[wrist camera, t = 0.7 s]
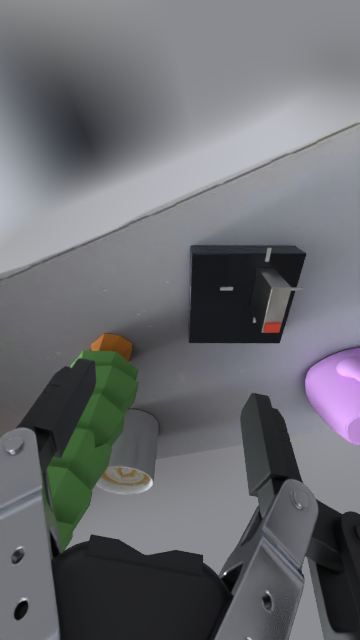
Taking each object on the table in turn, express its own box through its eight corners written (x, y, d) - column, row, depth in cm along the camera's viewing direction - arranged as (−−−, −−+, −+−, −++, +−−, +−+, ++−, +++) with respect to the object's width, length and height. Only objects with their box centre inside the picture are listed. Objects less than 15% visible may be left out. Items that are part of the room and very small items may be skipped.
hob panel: (190, 240, 27) (191, 248, 24) (302, 239, 26) (315, 248, 24) (188, 329, 33) (189, 344, 31) (276, 330, 33) (284, 344, 31)
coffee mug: (140, 403, 43) (130, 461, 34) (167, 430, 47) (164, 487, 39) (83, 422, 46) (62, 479, 38) (114, 446, 51) (100, 501, 43)
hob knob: (257, 267, 25) (272, 289, 21) (273, 267, 25) (293, 289, 21) (249, 307, 28) (262, 334, 23) (264, 307, 28) (280, 334, 23)
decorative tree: (105, 313, 32) (-168, 842, 7) (159, 347, 35) (106, 790, 10) (73, 354, 36) (-171, 777, 11) (124, 381, 39) (26, 755, 14)
